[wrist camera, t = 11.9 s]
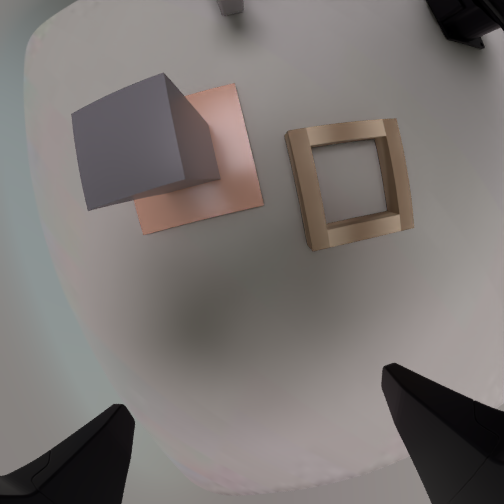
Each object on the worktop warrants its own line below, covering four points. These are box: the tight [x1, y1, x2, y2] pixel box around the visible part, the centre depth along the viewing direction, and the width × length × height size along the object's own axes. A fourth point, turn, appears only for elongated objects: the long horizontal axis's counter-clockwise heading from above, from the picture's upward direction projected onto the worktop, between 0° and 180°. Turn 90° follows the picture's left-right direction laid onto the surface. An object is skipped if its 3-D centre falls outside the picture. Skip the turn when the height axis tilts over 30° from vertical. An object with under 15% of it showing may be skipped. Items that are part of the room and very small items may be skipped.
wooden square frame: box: [284, 118, 414, 251], centre depth 18 cm, size 8×8×2 cm
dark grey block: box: [71, 73, 221, 211], centre depth 13 cm, size 4×4×10 cm
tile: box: [134, 83, 264, 235], centre depth 18 cm, size 9×9×1 cm
